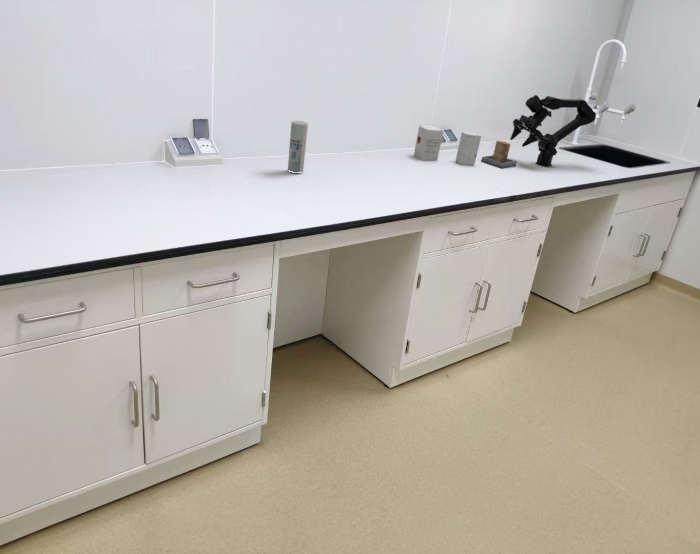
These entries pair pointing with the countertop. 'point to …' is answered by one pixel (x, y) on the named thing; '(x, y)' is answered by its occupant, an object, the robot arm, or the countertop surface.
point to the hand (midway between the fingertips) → (516, 142)
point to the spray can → (297, 146)
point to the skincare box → (468, 148)
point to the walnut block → (501, 151)
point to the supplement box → (428, 142)
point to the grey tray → (498, 164)
